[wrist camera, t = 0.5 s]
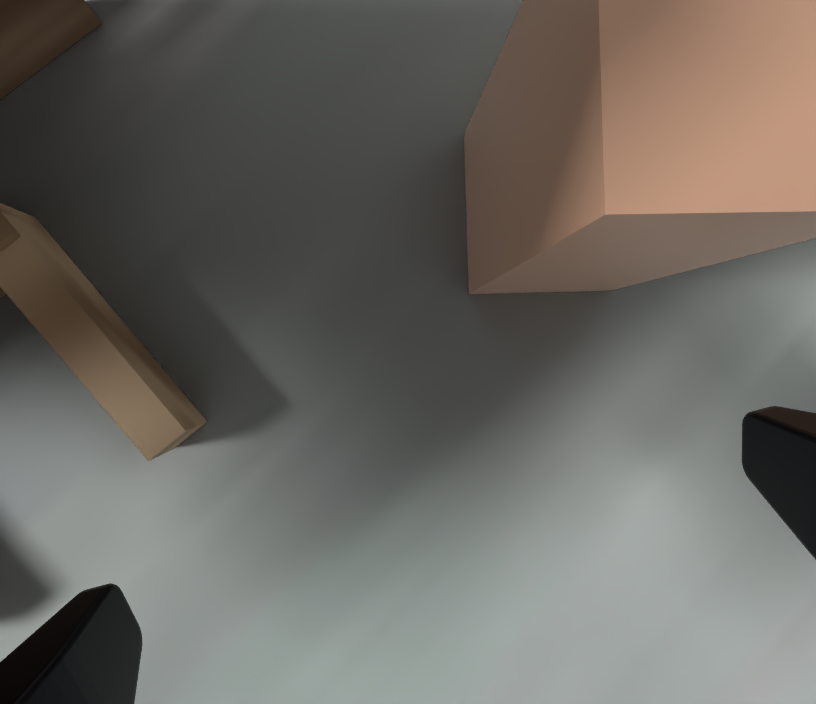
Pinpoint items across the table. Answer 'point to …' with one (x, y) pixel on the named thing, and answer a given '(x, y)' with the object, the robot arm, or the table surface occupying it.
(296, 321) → the table surface
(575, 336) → the table surface
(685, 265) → the terracotta box
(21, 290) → the shelf
